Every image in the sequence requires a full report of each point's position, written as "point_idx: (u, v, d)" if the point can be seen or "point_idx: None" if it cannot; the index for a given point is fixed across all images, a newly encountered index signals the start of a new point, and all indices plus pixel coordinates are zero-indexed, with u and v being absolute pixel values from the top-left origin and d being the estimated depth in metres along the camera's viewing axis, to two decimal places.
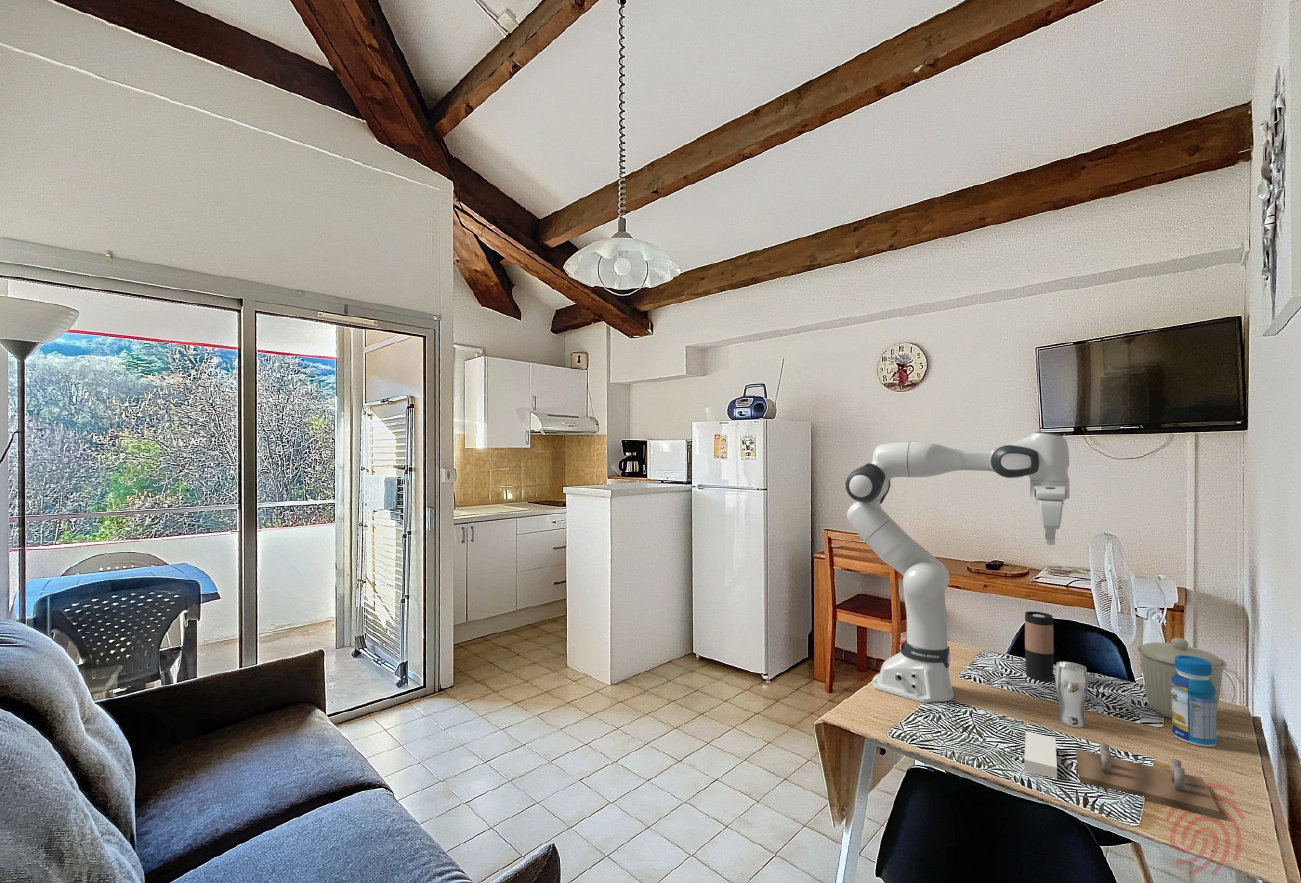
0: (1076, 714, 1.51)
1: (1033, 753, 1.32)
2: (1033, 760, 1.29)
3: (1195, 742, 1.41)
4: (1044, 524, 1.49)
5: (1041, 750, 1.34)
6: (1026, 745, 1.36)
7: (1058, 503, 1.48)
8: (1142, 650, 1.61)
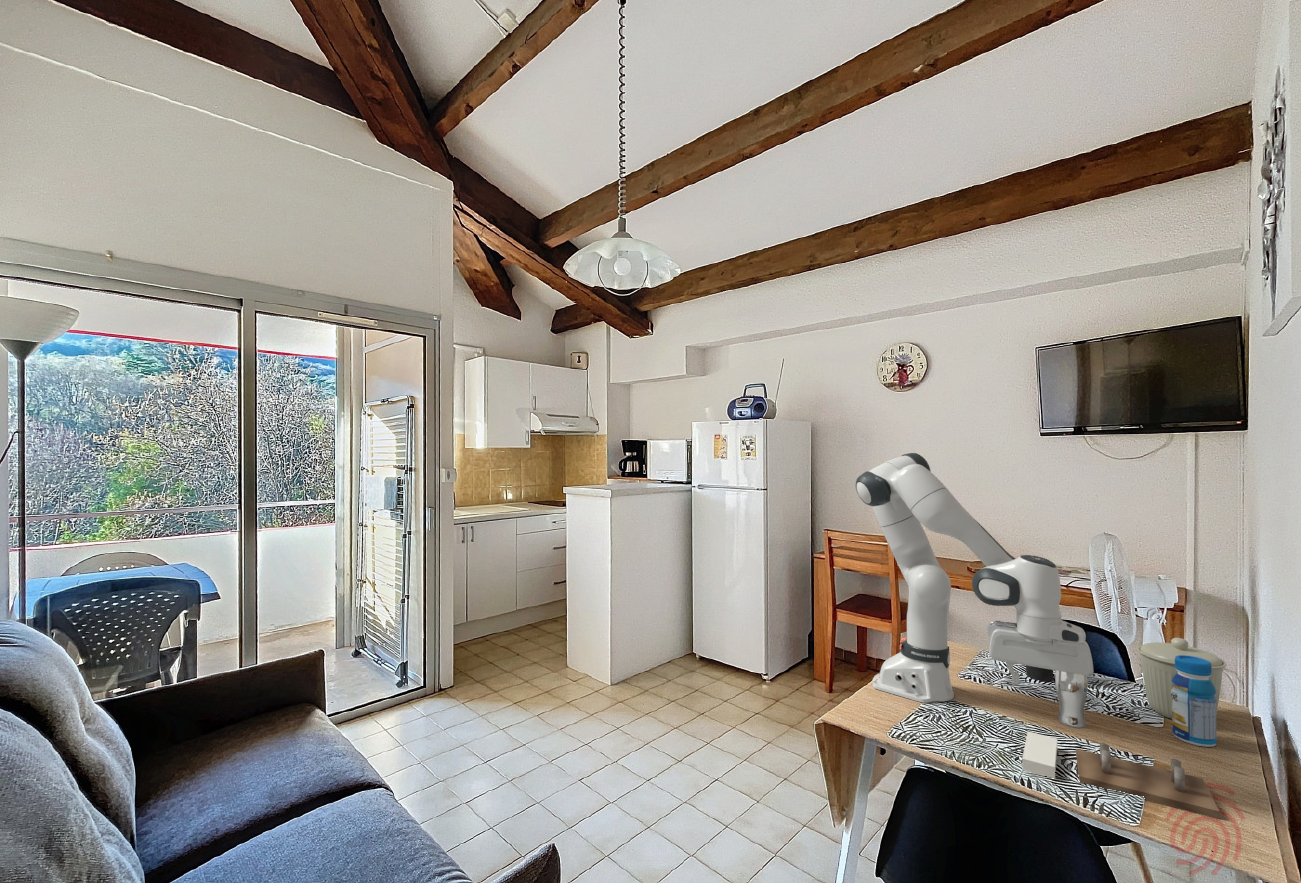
0: (1076, 714, 1.51)
1: (1032, 752, 1.33)
2: (1031, 759, 1.30)
3: (1195, 742, 1.41)
4: None
5: (1040, 750, 1.34)
6: (1026, 745, 1.36)
7: (1086, 642, 1.31)
8: (1142, 650, 1.61)
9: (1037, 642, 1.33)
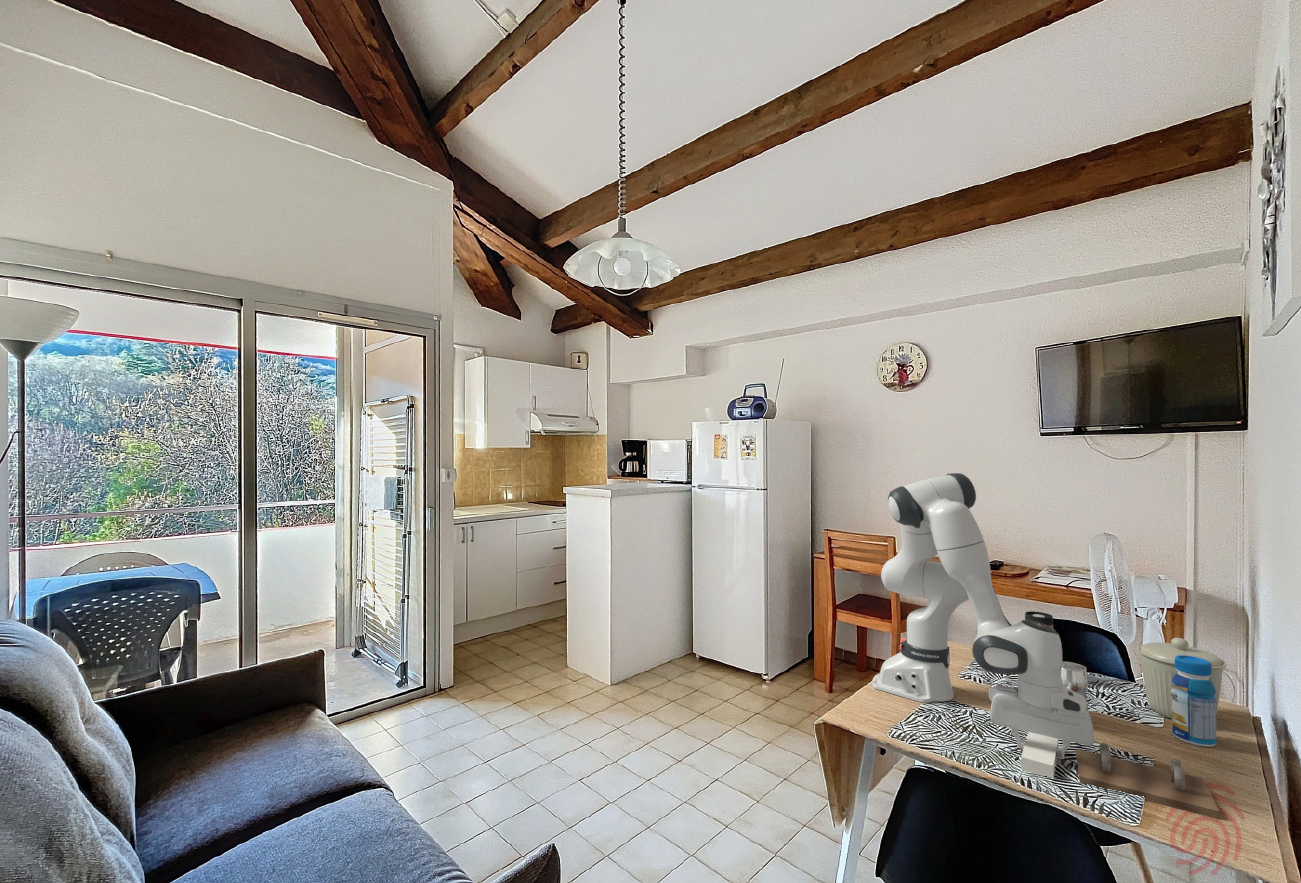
0: None
1: (1032, 751, 1.33)
2: (1030, 758, 1.30)
3: (1195, 742, 1.41)
4: (1094, 741, 1.28)
5: (1040, 749, 1.34)
6: (1026, 744, 1.36)
7: (1087, 711, 1.31)
8: (1142, 650, 1.61)
9: (1038, 710, 1.32)
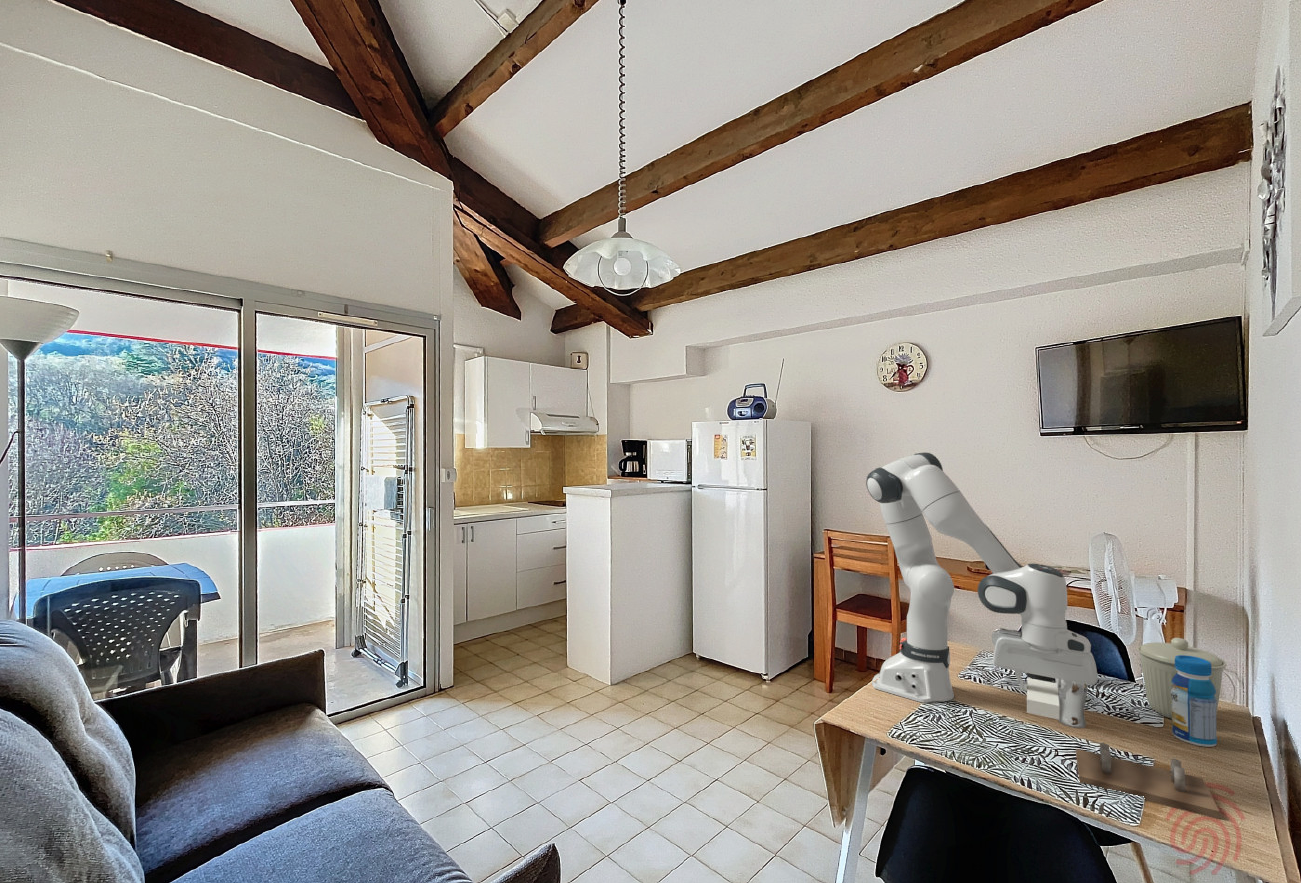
0: (1076, 714, 1.51)
1: (1035, 694, 1.33)
2: (1035, 700, 1.30)
3: (1195, 742, 1.41)
4: None
5: (1043, 692, 1.34)
6: (1028, 689, 1.36)
7: (1090, 652, 1.32)
8: (1142, 650, 1.61)
9: (1042, 651, 1.33)
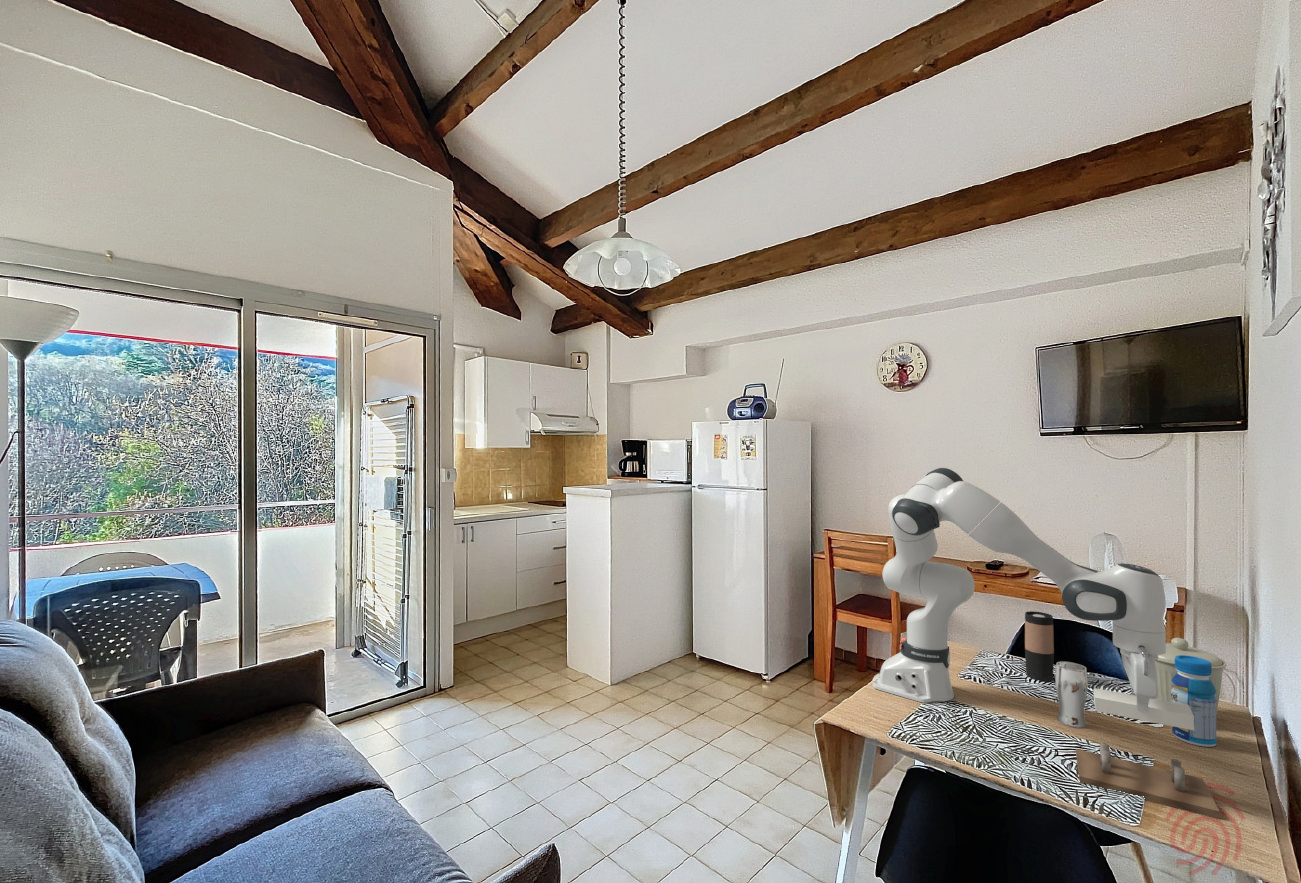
0: (1076, 714, 1.51)
1: (1163, 707, 1.22)
2: (1187, 711, 1.20)
3: (1195, 742, 1.41)
4: None
5: None
6: None
7: None
8: None
9: None
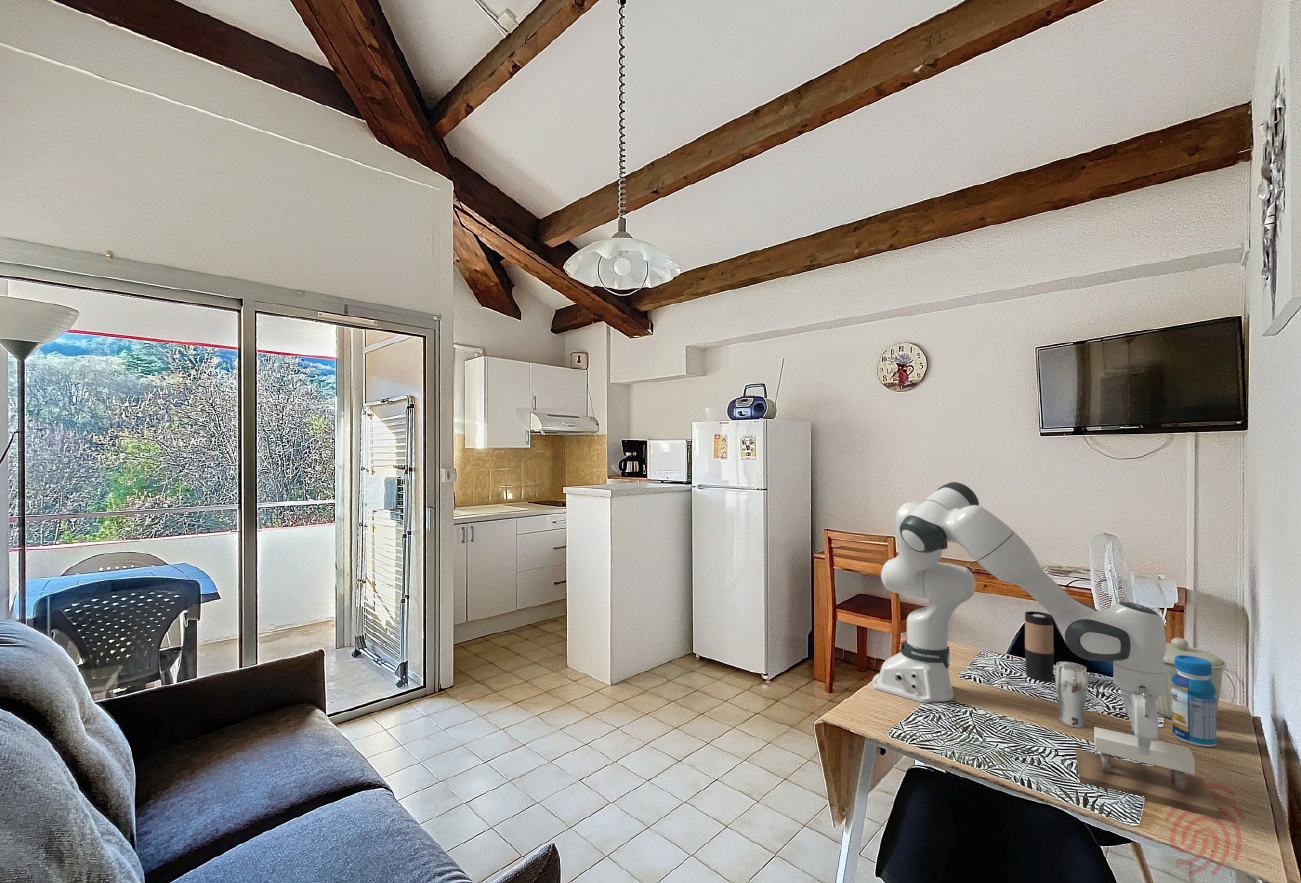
0: (1076, 714, 1.51)
1: (1164, 749, 1.22)
2: (1188, 755, 1.19)
3: (1195, 742, 1.41)
4: None
5: None
6: None
7: None
8: None
9: (1158, 697, 1.23)
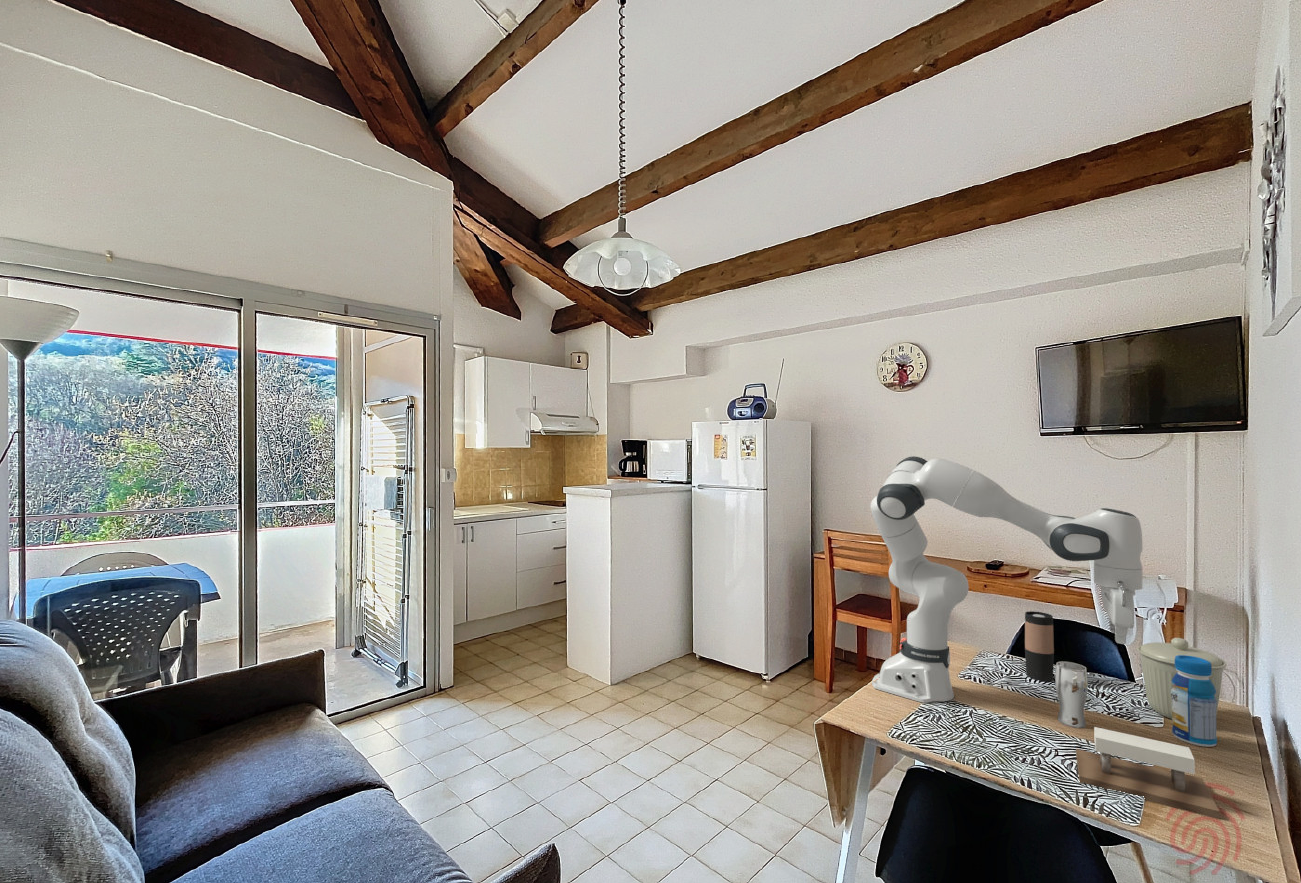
0: (1076, 714, 1.51)
1: (1164, 749, 1.22)
2: (1188, 755, 1.19)
3: (1195, 742, 1.41)
4: None
5: (1147, 743, 1.24)
6: (1146, 748, 1.22)
7: None
8: (1142, 650, 1.61)
9: None
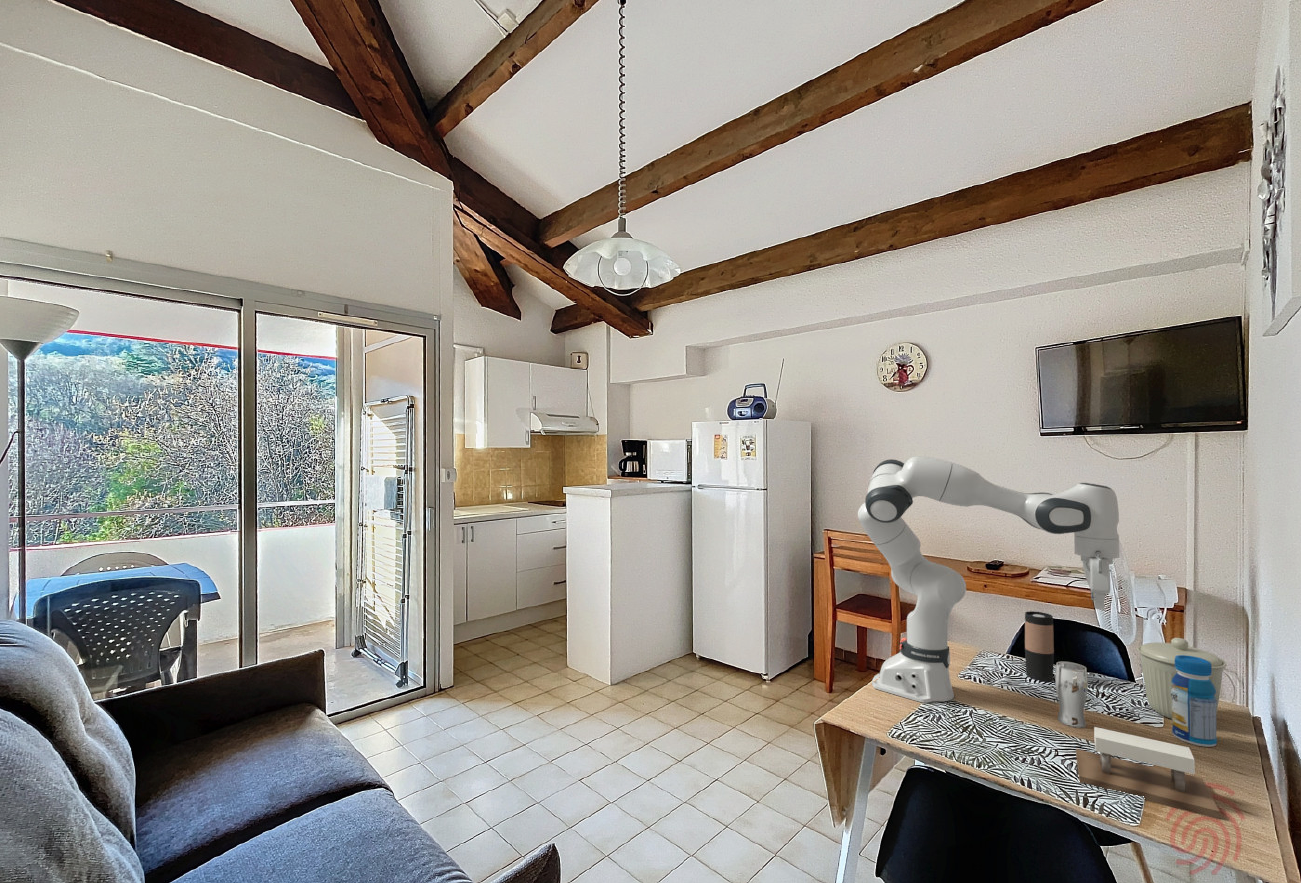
0: (1076, 714, 1.51)
1: (1164, 749, 1.22)
2: (1188, 755, 1.19)
3: (1195, 742, 1.41)
4: None
5: (1147, 743, 1.24)
6: (1146, 748, 1.22)
7: None
8: (1142, 650, 1.61)
9: (1112, 562, 1.41)
